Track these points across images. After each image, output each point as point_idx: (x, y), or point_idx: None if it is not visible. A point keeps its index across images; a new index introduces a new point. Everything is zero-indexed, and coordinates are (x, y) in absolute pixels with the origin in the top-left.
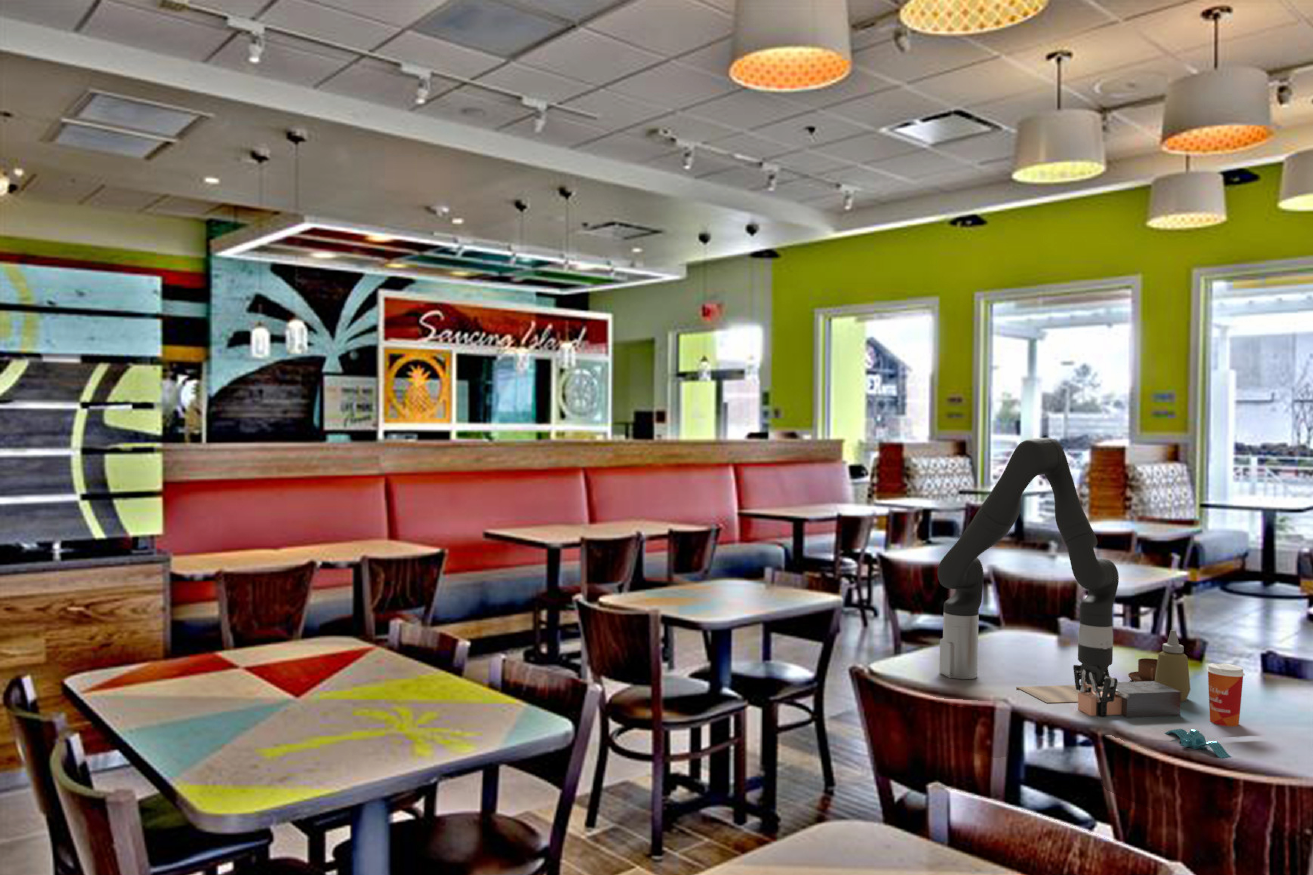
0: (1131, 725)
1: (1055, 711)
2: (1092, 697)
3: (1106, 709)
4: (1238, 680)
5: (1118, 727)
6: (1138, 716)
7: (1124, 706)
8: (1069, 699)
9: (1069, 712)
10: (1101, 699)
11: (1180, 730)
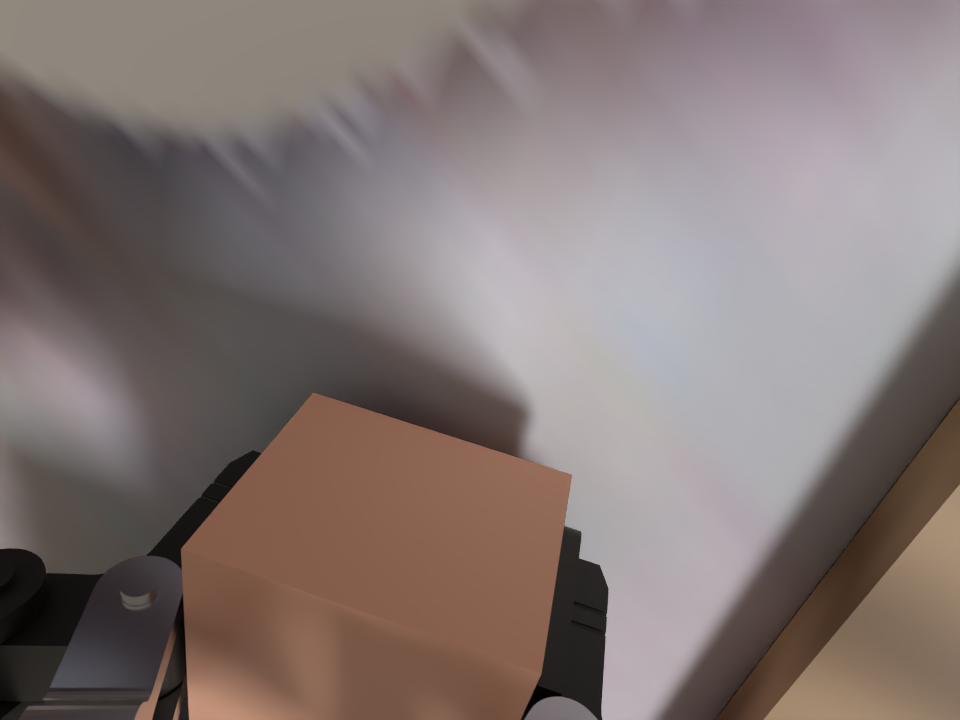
0: (131, 526)
1: (798, 261)
2: (246, 616)
3: None
4: None
5: (80, 393)
6: None
7: (184, 708)
8: (905, 697)
9: (656, 392)
10: (45, 585)
11: None
